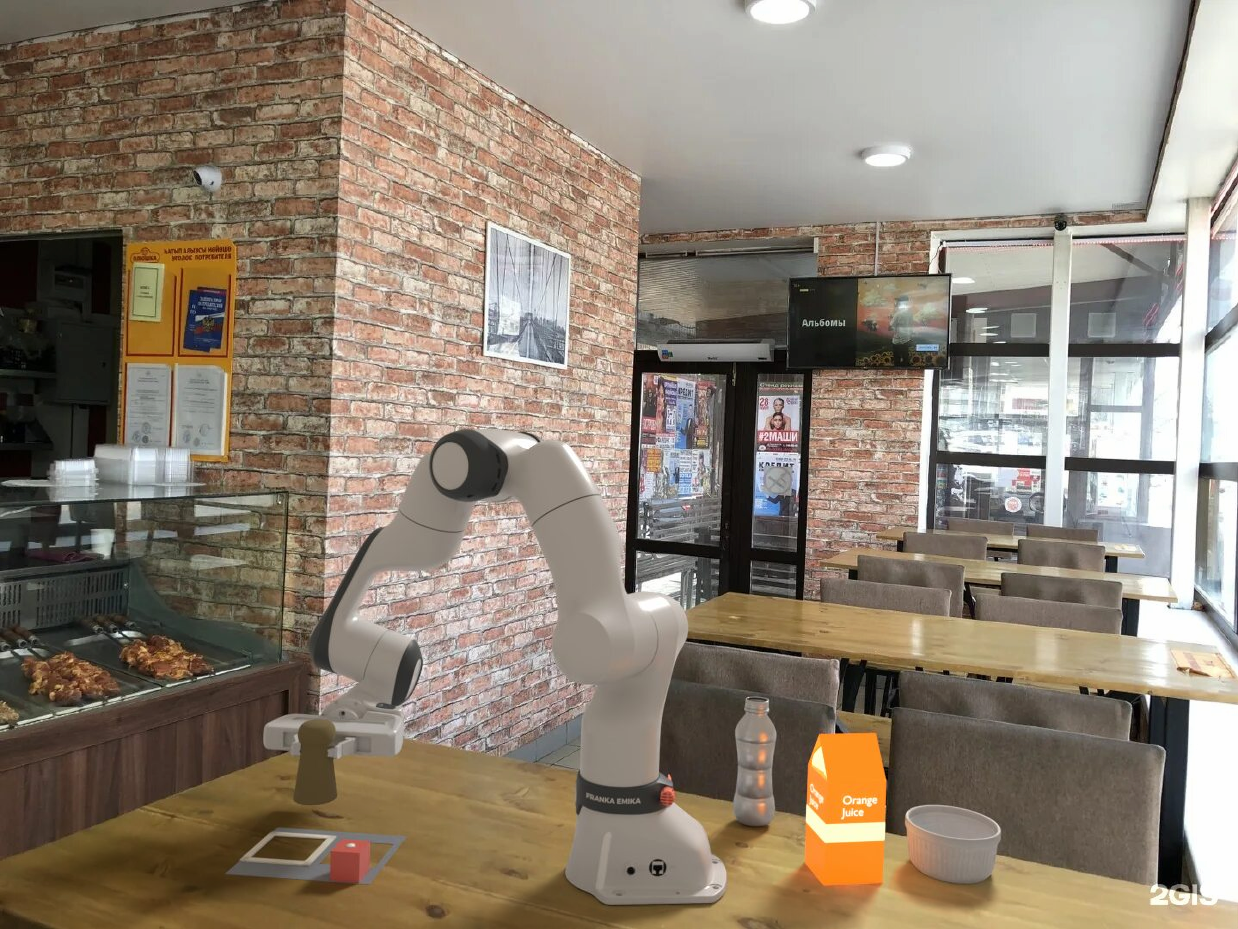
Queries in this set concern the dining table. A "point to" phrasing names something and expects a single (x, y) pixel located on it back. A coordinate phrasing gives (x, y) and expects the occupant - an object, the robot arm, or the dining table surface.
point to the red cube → (350, 860)
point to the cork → (315, 764)
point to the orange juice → (846, 810)
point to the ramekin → (952, 843)
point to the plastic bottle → (755, 764)
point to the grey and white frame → (311, 865)
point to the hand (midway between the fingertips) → (313, 752)
